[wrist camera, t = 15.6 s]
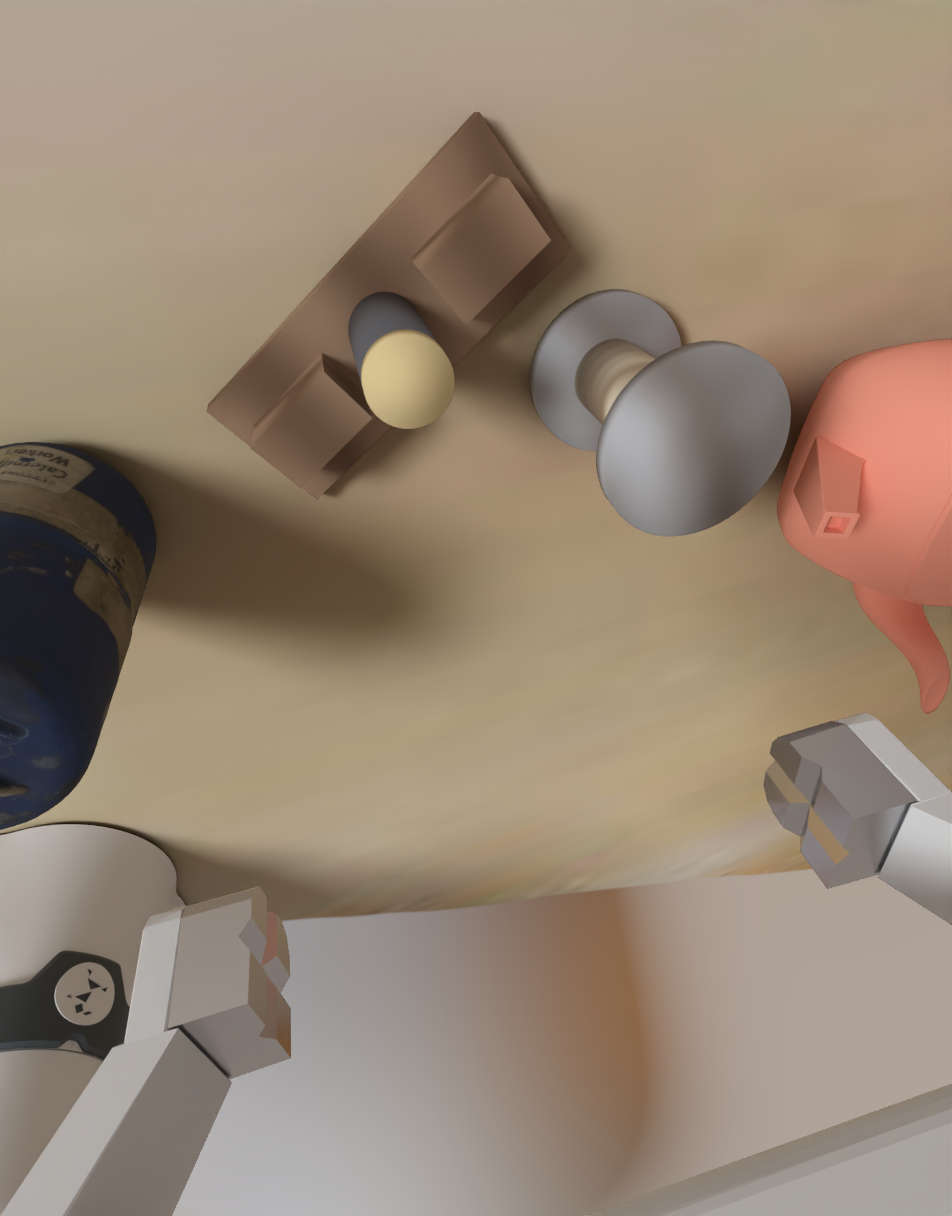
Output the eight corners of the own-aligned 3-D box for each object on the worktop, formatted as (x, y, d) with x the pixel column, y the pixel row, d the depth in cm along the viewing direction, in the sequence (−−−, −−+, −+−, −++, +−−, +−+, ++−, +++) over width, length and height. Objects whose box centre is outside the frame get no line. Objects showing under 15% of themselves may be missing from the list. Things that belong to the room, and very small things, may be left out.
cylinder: (422, 368, 34) (453, 426, 28) (350, 370, 33) (365, 430, 27) (422, 291, 32) (455, 335, 25) (345, 291, 31) (360, 336, 25)
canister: (74, 620, 39) (-48, 910, 25) (-93, 504, 33) (-377, 795, 19) (200, 529, 37) (146, 783, 23) (47, 391, 32) (-148, 615, 17)
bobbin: (585, 471, 40) (665, 568, 32) (499, 370, 36) (566, 452, 27) (699, 372, 38) (818, 447, 30) (624, 251, 34) (740, 299, 25)
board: (316, 491, 37) (318, 526, 34) (208, 404, 33) (200, 434, 30) (564, 246, 33) (594, 260, 30) (474, 112, 29) (496, 112, 26)
